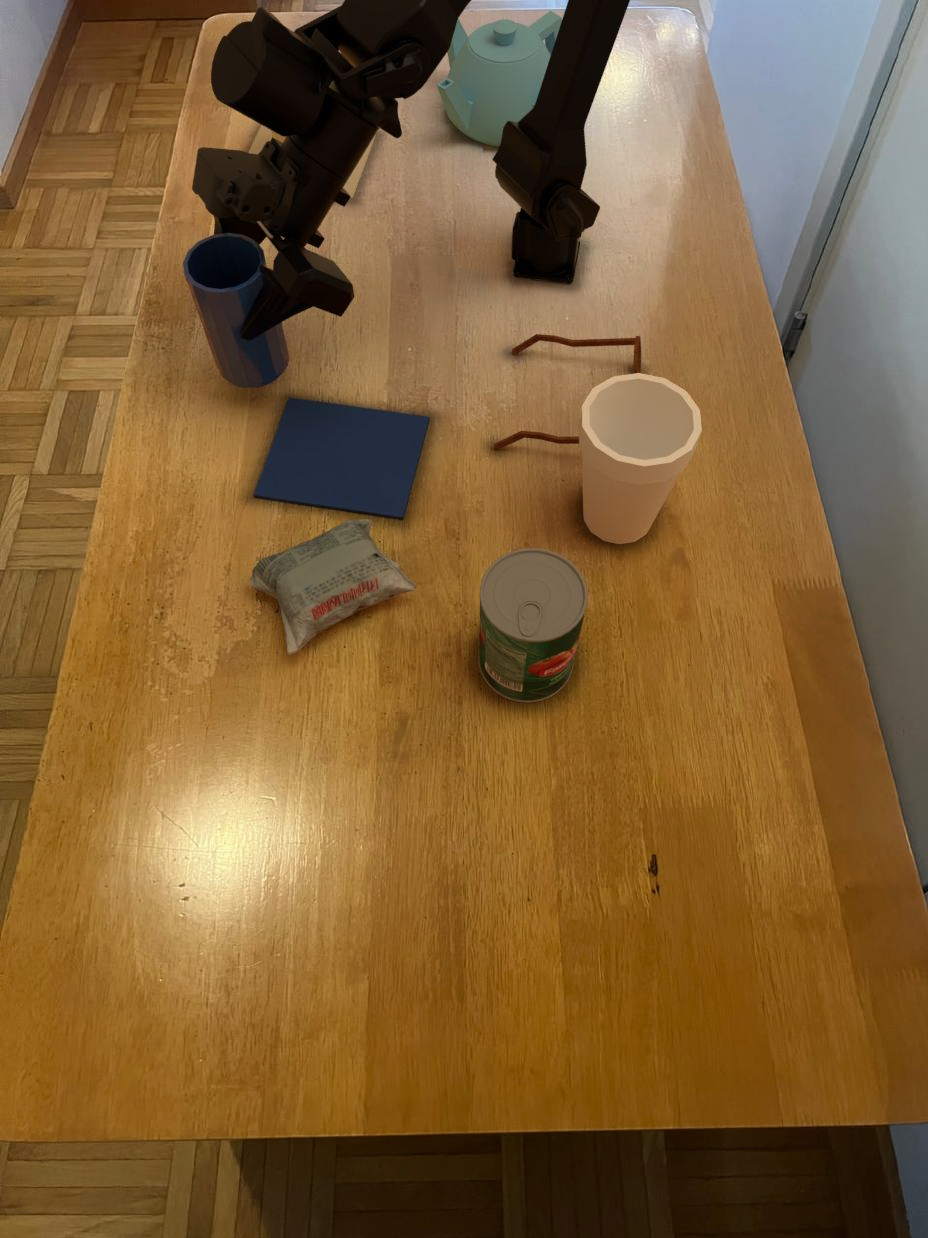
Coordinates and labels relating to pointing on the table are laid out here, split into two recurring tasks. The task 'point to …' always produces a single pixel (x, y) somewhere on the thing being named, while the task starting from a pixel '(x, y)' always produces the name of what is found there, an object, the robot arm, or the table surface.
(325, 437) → the blue mat
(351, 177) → the cream mat
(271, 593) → the packaged food
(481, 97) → the teapot
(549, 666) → the canned tomato
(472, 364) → the table surface
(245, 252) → the blue cup
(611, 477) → the foam cup
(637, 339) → the glasses
